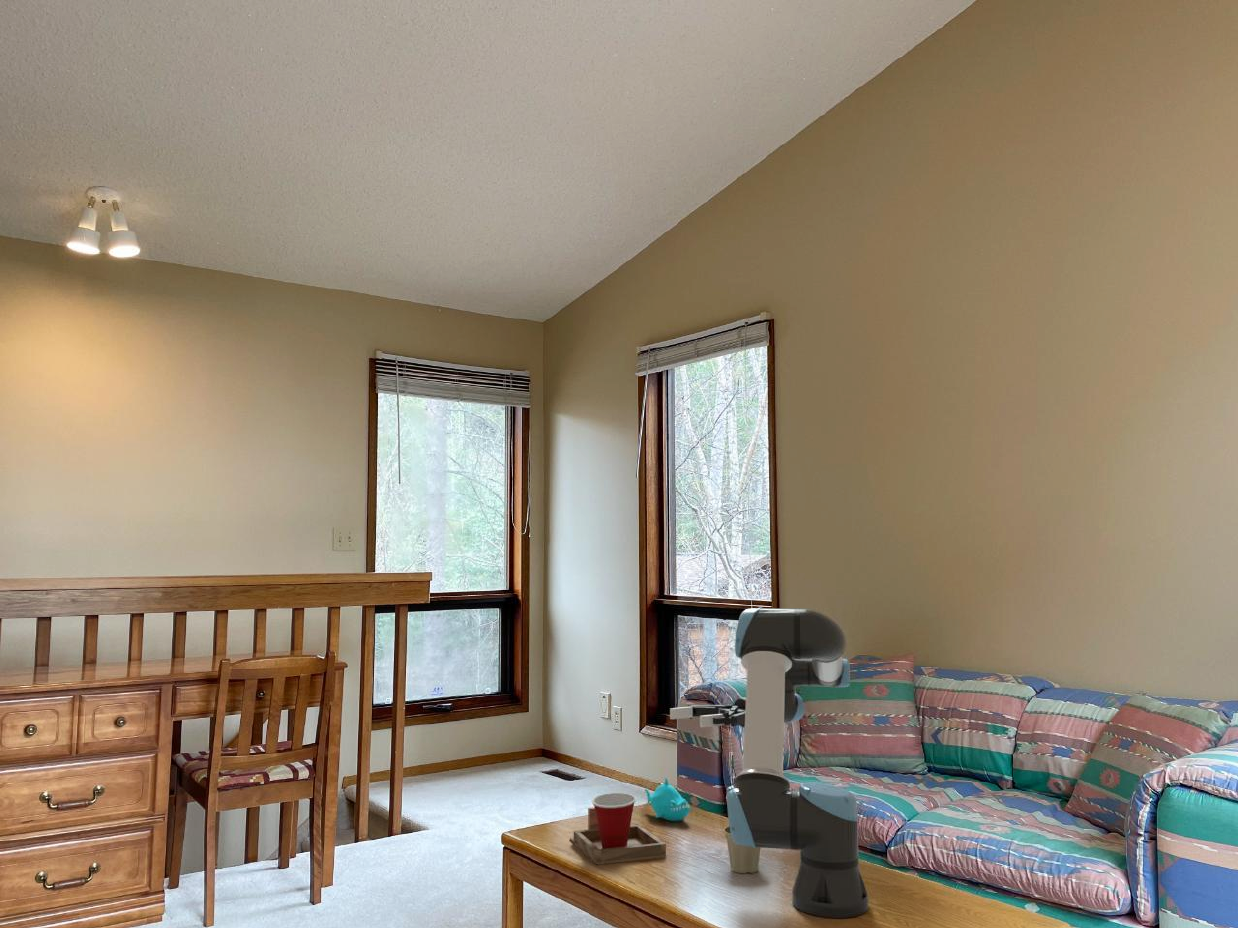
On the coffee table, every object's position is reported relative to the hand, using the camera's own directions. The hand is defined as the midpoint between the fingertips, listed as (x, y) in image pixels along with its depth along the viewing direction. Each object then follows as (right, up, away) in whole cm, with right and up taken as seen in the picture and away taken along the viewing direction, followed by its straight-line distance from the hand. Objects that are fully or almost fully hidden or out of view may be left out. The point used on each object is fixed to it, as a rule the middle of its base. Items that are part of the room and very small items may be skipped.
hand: (685, 717), depth 243 cm
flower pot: (+12, -28, -26) cm, 40 cm away
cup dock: (-18, -29, -10) cm, 35 cm away
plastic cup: (-18, -29, -12) cm, 36 cm away
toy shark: (-4, -32, +17) cm, 37 cm away
